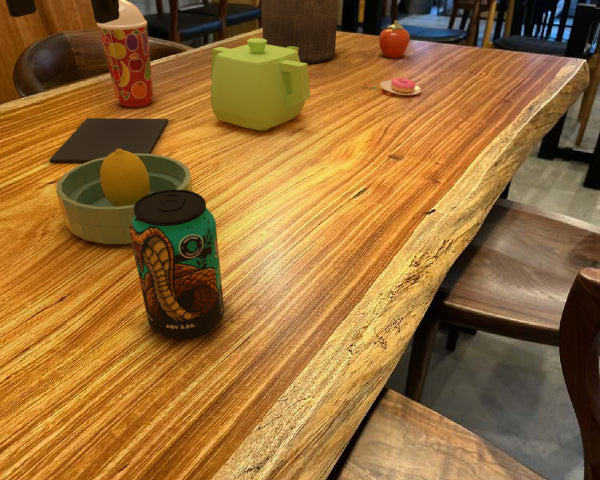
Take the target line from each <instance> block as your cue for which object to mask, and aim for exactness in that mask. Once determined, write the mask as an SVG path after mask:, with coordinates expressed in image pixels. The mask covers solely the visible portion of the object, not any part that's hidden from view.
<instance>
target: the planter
mask: <svg viewBox="0 0 600 480" xmlns="http://www.w3.org/2000/svg"><path fill="white" fill-rule="evenodd" d="M338 9H339V0H261V21H262V22H261V23H262V24H261V26H262V38H263V39H265V40H267V43H266V44H267V45H273V46H278V47H284V48H287V47H298V48H299V49H298V56H299V60H300V62H301V63H307V65H308V64H309V65H310V64H318V63H319V64H320V63H323V62H327V61H330V60H333V59H334V58H335V57H336V44H337V43H336V41H337V29H338V27H337V25H338V24H337V23H338Z"/></svg>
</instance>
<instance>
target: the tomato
mask: <svg viewBox="0 0 600 480" xmlns="http://www.w3.org/2000/svg"><path fill="white" fill-rule="evenodd" d="M410 36H411V35H410V34H409V32H408V30H406V29H405V28H404V26H403V25H401V24H399V21H398V20H397V19H395V20H394V22H393V24H390V25H388V26H386V28H385V29H383V30H382V31H381V32H380V34H379V38H378V44H379V49H380V52H381V53H382V54H383V56H384V57H386V58H389V59H399V58H401V57H402V56H403V55H404V54H405V53H406V51H407V49H408V47H409V45H410V40H411V39H410Z"/></svg>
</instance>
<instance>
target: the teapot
mask: <svg viewBox="0 0 600 480" xmlns="http://www.w3.org/2000/svg"><path fill="white" fill-rule="evenodd" d="M246 42H247V44H245V45H241V46H236V47H233V48H228V47H224V46H223V47H222V46H218V47H214V48H211V77H210V78H211V83H210V106H211V110H212V112H213V114H214V116H215V118H216V119H217V120H219V121H222V122H224V123H225V122H226V123H228V124H232V125H235V126H239V127H242V128H246V129H251V130H255V131H259V132H264V131H265V132H266V131H269V130H270V129H271V128H274V127H276V126H280V125H282V124H285V123H287V122H290V121H291V120H293V119H294V118H296V117H297V116H299V115H300V114H301V113H302V111H303V109H304V106H305V103H306V101H307V100H309V99H310V98H311V88H310V76H309V68H308V64H307V63H301V62H300V60H299V56H298V49H299V48H298V47H287V48H284V47H278V46H273V45H267V44H266V43H267V40H265V39H263V37H253V38H248V39H247V40H246Z"/></svg>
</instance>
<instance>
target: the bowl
mask: <svg viewBox="0 0 600 480" xmlns="http://www.w3.org/2000/svg"><path fill="white" fill-rule="evenodd" d="M135 155H136V156H137V157H139V158H140V160H141V161H142V162H143V164H144V165H145V167H146V170H147V172H148V176H149V181H150V192H149V194H151V193H154V192H158V191H163V190H172V189H175V190H187V191H192V192H194V189H193V181H192V175H191V172H190V169H189V167H188V166H187V165H185V163H183V162H182V161H180V160H178V159H176V158H172V157H169V156H166V155H161V154H153V153H151V154H135ZM105 158H106V157H103V158H99V159H95V160H91V161H89V162H86V163H80V164H78V165H76V166H74V167H73V168H71V169H69V170H68V171H67V172H65V173H64V174H63V175H62V176H61V177H60V178H59V180H57V182H56V190H55V192H56V195H57V199H58V203H59V206H60V210H61V213H62V216H63V220H64V223H65V226H66V227H67V229H69V231H70V233H71V234H72V235H74V236H76V237H78V238H80V239H82V240H84V241H88V242H92V243H97V244H101V245H102V244H104V245H128V244H132V242H131V237H130V231H129V227H130V223H131V221H132V219H133V217H134V209H133V208H134V205H128V206H120V207H115V206H114V205H112V204H111V203H110V202H109V201H108V199H107V198H106V196H105V195H104V192H103V189H102V186H101V181H100V170H101V165H102V163H103V161H104V159H105Z"/></svg>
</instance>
